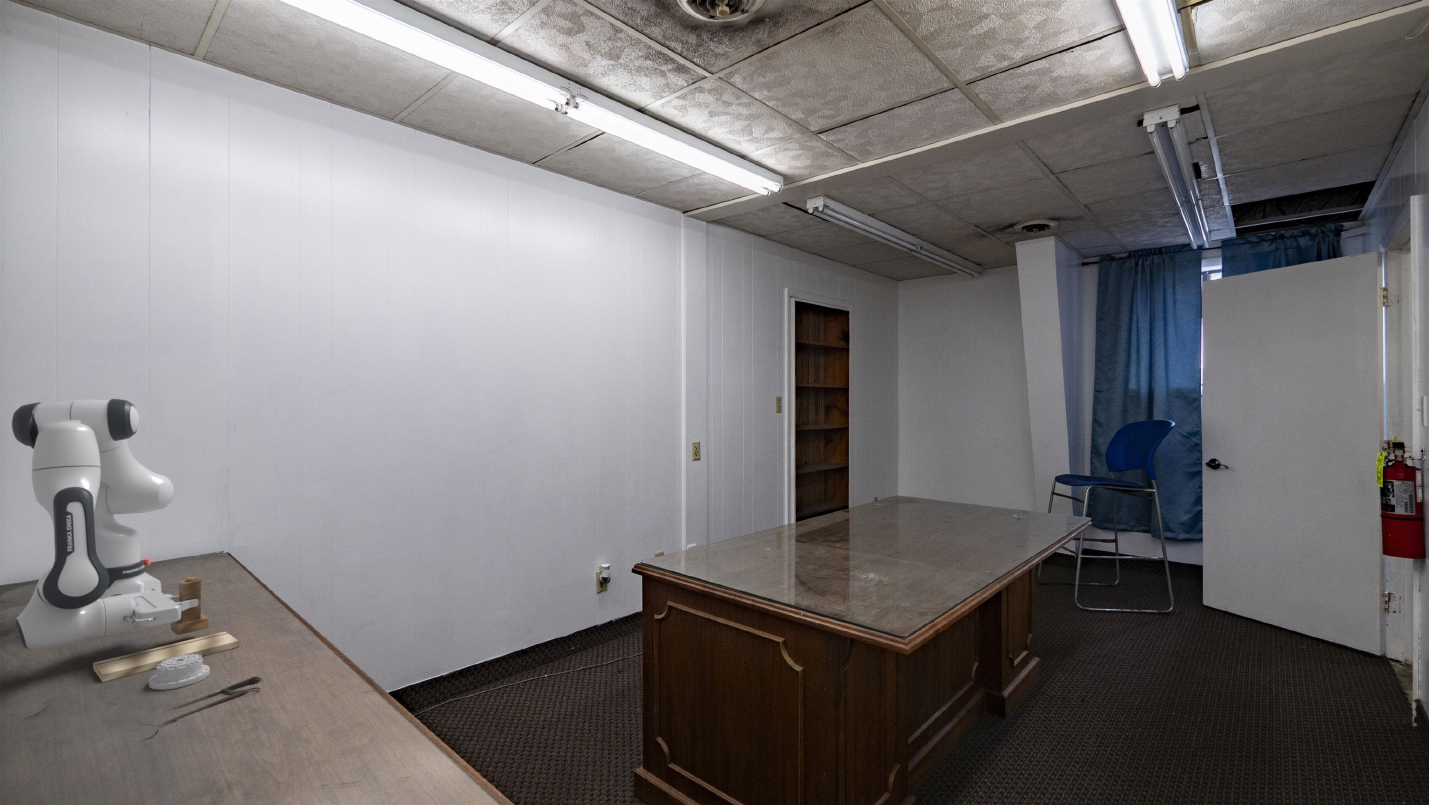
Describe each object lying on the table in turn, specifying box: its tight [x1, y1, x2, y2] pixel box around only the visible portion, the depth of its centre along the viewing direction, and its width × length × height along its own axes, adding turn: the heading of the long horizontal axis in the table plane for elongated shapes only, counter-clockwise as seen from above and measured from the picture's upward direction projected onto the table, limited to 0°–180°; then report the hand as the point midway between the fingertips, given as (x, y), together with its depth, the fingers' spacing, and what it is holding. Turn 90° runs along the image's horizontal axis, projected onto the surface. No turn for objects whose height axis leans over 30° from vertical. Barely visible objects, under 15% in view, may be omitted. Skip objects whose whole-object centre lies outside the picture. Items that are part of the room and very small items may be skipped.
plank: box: [92, 631, 240, 683], centre depth 146 cm, size 24×10×2 cm, turn 143°
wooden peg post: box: [170, 576, 209, 636], centre depth 156 cm, size 6×6×13 cm
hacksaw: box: [134, 676, 262, 742], centre depth 122 cm, size 24×10×2 cm, turn 151°
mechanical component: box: [148, 654, 211, 691], centre depth 135 cm, size 10×4×10 cm
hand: (194, 600), depth 157 cm, fingers closed on wooden peg post, 3 cm apart
